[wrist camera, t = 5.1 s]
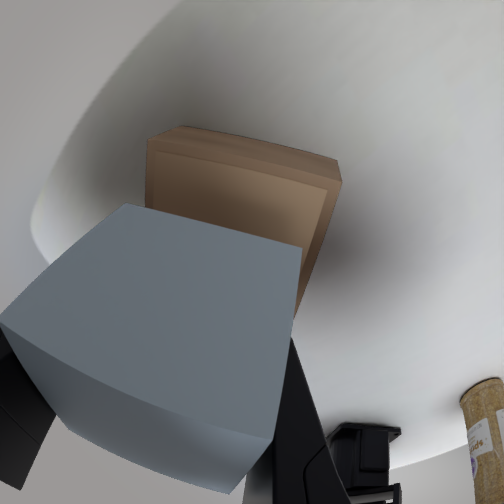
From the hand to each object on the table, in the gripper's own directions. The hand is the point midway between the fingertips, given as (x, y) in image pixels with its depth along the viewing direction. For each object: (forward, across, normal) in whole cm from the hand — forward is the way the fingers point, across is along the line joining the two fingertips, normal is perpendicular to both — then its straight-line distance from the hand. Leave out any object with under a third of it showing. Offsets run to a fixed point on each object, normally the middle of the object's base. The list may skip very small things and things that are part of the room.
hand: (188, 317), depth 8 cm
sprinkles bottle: (+7, -23, +10) cm, 26 cm away
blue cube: (+1, 0, 0) cm, 1 cm away
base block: (+7, 0, 0) cm, 7 cm away
